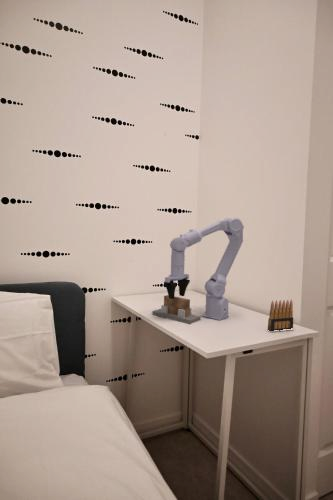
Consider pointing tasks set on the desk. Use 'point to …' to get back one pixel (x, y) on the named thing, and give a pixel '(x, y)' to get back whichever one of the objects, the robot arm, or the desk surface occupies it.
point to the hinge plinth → (180, 317)
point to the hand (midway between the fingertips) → (176, 297)
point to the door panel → (177, 305)
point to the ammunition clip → (281, 316)
